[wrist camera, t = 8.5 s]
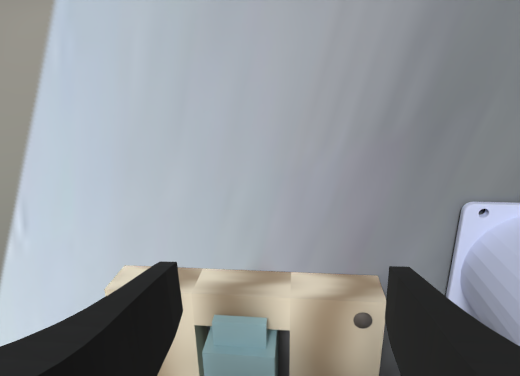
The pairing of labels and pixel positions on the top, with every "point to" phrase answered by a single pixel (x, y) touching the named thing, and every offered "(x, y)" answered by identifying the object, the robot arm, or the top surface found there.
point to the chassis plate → (281, 317)
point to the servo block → (240, 347)
